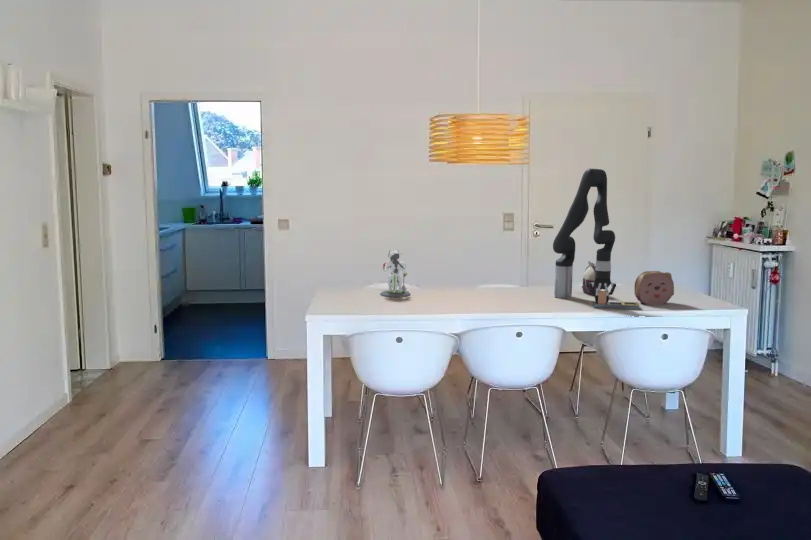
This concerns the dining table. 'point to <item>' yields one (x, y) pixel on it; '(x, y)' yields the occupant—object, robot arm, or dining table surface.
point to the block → (602, 297)
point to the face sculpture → (654, 287)
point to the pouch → (589, 278)
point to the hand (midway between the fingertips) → (601, 302)
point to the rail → (617, 305)
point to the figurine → (395, 276)
